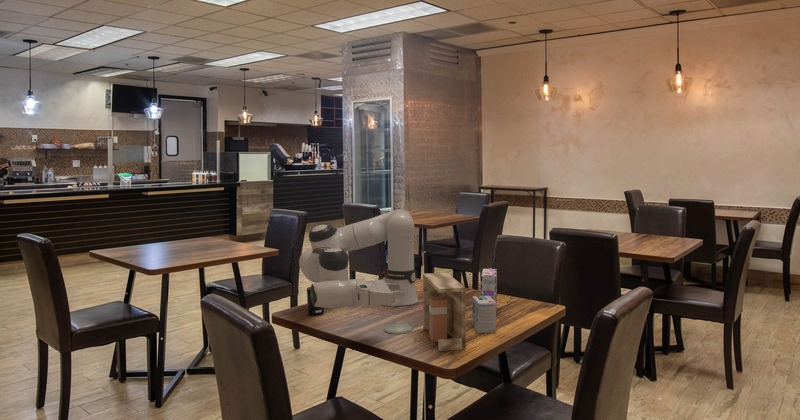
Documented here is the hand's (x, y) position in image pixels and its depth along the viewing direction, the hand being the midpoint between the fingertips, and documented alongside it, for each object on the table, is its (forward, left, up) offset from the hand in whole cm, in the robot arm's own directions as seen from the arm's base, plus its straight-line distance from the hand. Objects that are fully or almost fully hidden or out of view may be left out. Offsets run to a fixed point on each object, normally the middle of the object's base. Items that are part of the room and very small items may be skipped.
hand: (402, 290), depth 189 cm
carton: (+9, +8, -18) cm, 22 cm away
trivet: (-8, +11, -18) cm, 22 cm away
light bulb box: (+19, +26, -18) cm, 37 cm away
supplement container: (-47, +15, -18) cm, 52 cm away
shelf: (+11, +9, -18) cm, 23 cm away
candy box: (+14, +46, -18) cm, 51 cm away
